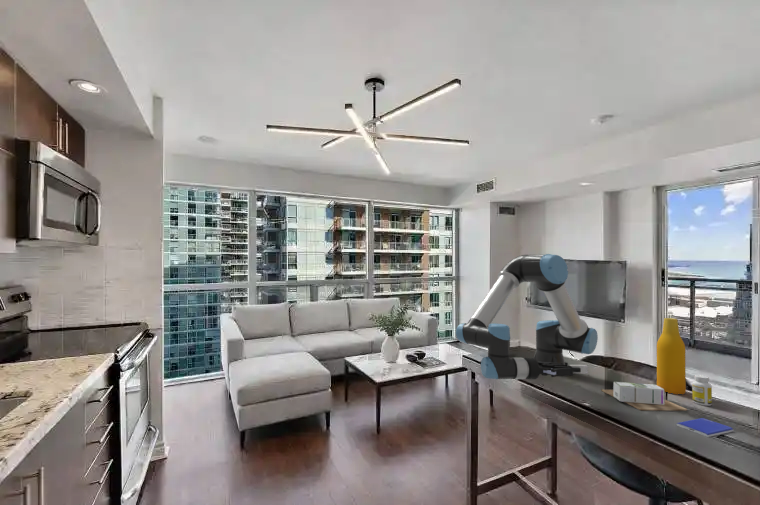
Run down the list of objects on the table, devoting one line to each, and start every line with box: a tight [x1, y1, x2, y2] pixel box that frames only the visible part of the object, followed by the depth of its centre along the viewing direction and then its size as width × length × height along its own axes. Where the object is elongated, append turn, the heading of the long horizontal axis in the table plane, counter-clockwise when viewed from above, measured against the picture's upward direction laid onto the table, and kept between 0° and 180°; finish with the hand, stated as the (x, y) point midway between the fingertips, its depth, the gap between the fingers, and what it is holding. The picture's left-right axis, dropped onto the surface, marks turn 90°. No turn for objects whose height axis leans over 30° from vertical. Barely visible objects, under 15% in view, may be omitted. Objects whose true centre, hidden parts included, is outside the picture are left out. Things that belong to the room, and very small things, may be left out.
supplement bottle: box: [691, 374, 713, 407], centre depth 135 cm, size 5×5×10 cm
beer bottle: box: [656, 317, 687, 395], centre depth 149 cm, size 9×9×29 cm
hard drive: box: [676, 417, 734, 438], centre depth 113 cm, size 2×8×12 cm
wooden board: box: [601, 389, 688, 412], centre depth 137 cm, size 17×20×1 cm
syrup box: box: [612, 381, 666, 405], centre depth 134 cm, size 6×6×14 cm
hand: (586, 369), depth 136 cm, fingers closed
